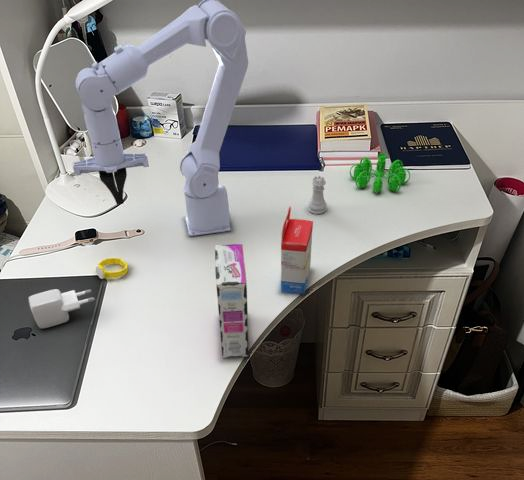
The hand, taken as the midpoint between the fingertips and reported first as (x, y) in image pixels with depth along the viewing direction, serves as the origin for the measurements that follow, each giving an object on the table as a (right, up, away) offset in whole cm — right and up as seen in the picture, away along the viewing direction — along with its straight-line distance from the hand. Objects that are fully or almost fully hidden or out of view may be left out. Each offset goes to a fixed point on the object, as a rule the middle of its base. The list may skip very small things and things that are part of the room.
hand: (119, 201), depth 113 cm
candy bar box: (+25, -29, -15) cm, 41 cm away
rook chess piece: (+43, +2, +15) cm, 45 cm away
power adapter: (-7, -25, -11) cm, 28 cm away
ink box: (+37, -17, -4) cm, 41 cm away
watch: (+1, -13, 0) cm, 13 cm away
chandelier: (+59, +11, +24) cm, 65 cm away
